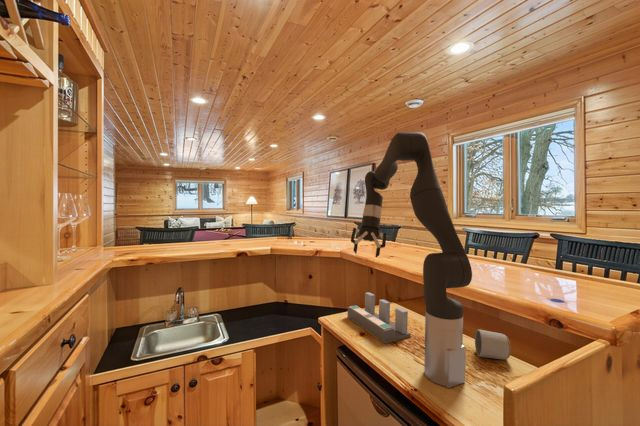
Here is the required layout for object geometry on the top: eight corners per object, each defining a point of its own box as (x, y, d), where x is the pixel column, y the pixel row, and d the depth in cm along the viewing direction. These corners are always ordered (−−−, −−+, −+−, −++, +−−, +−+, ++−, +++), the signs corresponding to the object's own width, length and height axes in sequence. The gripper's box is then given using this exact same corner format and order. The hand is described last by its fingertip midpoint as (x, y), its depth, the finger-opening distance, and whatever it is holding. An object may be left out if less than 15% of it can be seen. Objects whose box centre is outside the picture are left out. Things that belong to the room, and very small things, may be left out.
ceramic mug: (512, 365, 84) (512, 338, 84) (480, 361, 86) (481, 335, 86) (498, 347, 94) (499, 324, 94) (471, 344, 96) (471, 321, 96)
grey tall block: (407, 332, 101) (407, 311, 101) (402, 333, 100) (403, 312, 100) (399, 328, 105) (399, 307, 104) (395, 329, 104) (395, 308, 103)
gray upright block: (389, 322, 110) (390, 302, 109) (385, 323, 109) (385, 303, 108) (383, 318, 113) (383, 299, 113) (378, 319, 112) (379, 299, 112)
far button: (374, 313, 118) (374, 295, 118) (370, 314, 117) (370, 295, 117) (368, 309, 122) (369, 292, 121) (364, 310, 121) (365, 292, 121)
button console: (410, 337, 101) (410, 323, 101) (384, 343, 96) (384, 329, 96) (370, 312, 123) (370, 301, 122) (347, 317, 118) (347, 305, 118)
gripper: (354, 212, 121) (348, 251, 118) (389, 218, 119) (384, 257, 116) (354, 216, 128) (348, 253, 125) (387, 221, 126) (382, 258, 123)
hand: (365, 255), depth 120 cm, fingers open, 8 cm apart
